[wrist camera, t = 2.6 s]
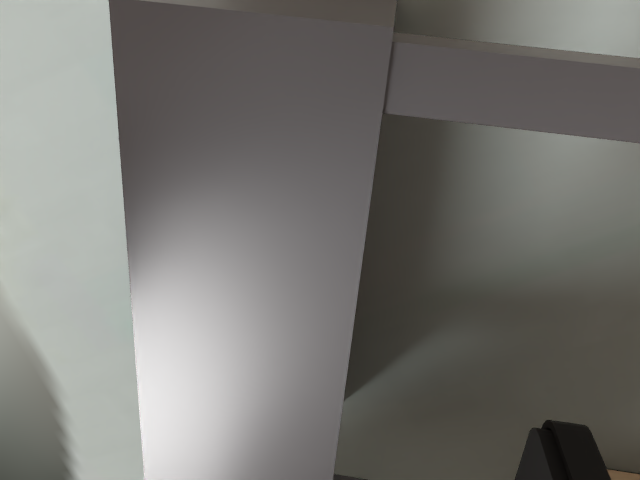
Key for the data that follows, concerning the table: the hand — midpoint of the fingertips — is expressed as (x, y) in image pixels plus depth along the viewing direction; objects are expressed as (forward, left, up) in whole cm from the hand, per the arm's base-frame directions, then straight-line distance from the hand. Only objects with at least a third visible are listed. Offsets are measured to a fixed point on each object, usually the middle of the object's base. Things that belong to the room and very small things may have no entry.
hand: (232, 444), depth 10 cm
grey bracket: (-1, +3, -7) cm, 7 cm away
